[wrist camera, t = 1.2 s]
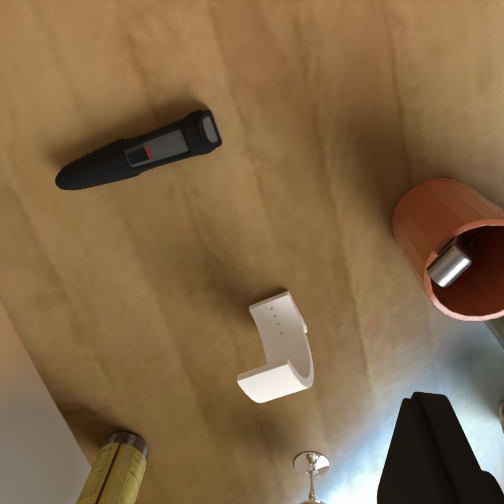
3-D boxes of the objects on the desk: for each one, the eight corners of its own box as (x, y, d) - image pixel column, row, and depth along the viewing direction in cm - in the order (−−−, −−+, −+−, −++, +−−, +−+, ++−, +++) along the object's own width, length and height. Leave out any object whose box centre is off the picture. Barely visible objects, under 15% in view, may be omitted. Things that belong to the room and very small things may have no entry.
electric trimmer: (61, 157, 42) (44, 164, 39) (210, 105, 38) (203, 109, 36) (79, 193, 43) (64, 203, 40) (224, 146, 40) (218, 153, 37)
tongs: (388, 170, 39) (457, 251, 22) (472, 235, 41) (595, 354, 24) (373, 188, 40) (429, 278, 23) (456, 250, 41) (564, 377, 25)
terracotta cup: (435, 160, 39) (486, 195, 29) (501, 212, 40) (571, 263, 30) (373, 228, 42) (399, 282, 32) (436, 274, 43) (480, 339, 33)
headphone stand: (288, 290, 45) (287, 363, 34) (311, 334, 47) (317, 417, 36) (249, 305, 47) (236, 381, 36) (272, 348, 49) (268, 432, 38)
